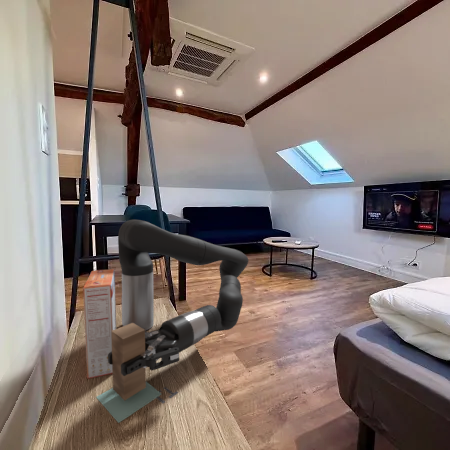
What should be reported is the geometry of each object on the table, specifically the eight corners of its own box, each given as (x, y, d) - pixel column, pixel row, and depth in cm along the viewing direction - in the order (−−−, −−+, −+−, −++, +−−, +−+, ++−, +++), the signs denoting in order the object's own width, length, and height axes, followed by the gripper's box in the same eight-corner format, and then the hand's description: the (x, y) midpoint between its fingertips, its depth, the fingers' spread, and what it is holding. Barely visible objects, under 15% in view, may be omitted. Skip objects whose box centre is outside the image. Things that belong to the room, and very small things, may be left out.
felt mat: (96, 397, 50) (96, 396, 50) (137, 374, 57) (137, 374, 57) (118, 423, 44) (118, 422, 44) (161, 394, 51) (161, 393, 51)
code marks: (152, 395, 51) (152, 394, 51) (168, 385, 54) (168, 384, 54) (162, 404, 49) (162, 403, 49) (178, 393, 52) (178, 392, 52)
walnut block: (112, 389, 50) (111, 330, 49) (133, 377, 54) (132, 322, 53) (124, 400, 47) (123, 339, 46) (145, 387, 51) (144, 329, 50)
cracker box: (93, 346, 68) (90, 269, 66) (117, 342, 70) (116, 268, 68) (84, 380, 55) (81, 286, 53) (115, 374, 57) (112, 283, 55)
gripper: (205, 357, 57) (135, 402, 44) (166, 335, 66) (98, 367, 53) (205, 325, 56) (134, 361, 43) (166, 307, 65) (97, 332, 52)
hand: (115, 364), depth 48 cm, fingers closed on walnut block, 4 cm apart
